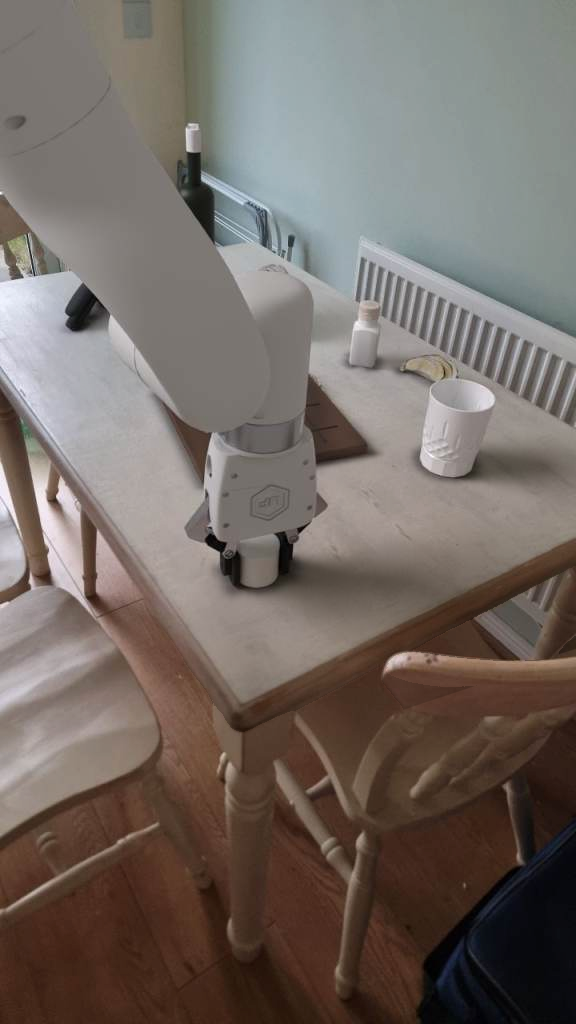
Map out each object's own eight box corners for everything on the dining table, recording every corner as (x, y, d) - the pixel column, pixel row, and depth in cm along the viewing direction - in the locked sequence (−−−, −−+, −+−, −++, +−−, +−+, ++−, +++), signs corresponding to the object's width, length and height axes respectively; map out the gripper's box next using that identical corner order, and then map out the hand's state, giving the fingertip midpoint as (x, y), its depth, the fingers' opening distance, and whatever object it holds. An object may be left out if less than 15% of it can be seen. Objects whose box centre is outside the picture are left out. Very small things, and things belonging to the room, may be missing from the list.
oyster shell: (410, 402, 109) (467, 390, 102) (396, 395, 107) (453, 382, 100) (412, 366, 110) (469, 352, 103) (398, 358, 108) (455, 343, 101)
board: (202, 484, 83) (202, 473, 82) (158, 395, 98) (157, 385, 97) (366, 453, 90) (367, 442, 89) (300, 374, 105) (301, 364, 104)
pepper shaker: (373, 369, 108) (382, 311, 102) (348, 366, 108) (355, 307, 102) (376, 358, 111) (384, 301, 105) (351, 354, 111) (358, 297, 105)
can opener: (94, 289, 126) (90, 258, 123) (130, 294, 125) (127, 262, 122) (49, 329, 113) (43, 295, 109) (89, 335, 112) (85, 301, 108)
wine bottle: (200, 314, 120) (195, 118, 101) (222, 325, 117) (221, 126, 98) (174, 323, 117) (164, 122, 98) (196, 334, 114) (190, 130, 95)
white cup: (439, 438, 94) (454, 372, 87) (488, 464, 90) (508, 396, 83) (402, 460, 89) (416, 391, 83) (453, 488, 85) (471, 419, 79)
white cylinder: (242, 592, 70) (242, 563, 67) (228, 562, 73) (228, 533, 70) (284, 581, 71) (286, 553, 69) (269, 552, 74) (270, 524, 72)
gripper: (177, 461, 55) (186, 616, 67) (367, 427, 60) (345, 576, 72) (155, 413, 60) (167, 565, 72) (331, 386, 66) (316, 531, 77)
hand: (256, 569), depth 72 cm, fingers closed on white cylinder, 4 cm apart
